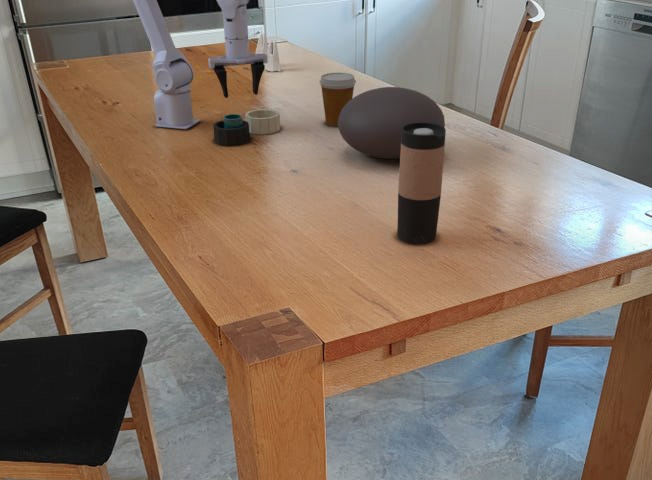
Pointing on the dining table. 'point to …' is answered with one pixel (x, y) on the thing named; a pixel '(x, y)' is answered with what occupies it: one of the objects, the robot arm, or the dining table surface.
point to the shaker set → (269, 53)
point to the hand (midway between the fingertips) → (240, 95)
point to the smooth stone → (385, 119)
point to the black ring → (231, 134)
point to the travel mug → (420, 181)
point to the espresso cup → (233, 121)
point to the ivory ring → (263, 121)
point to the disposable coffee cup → (336, 94)
